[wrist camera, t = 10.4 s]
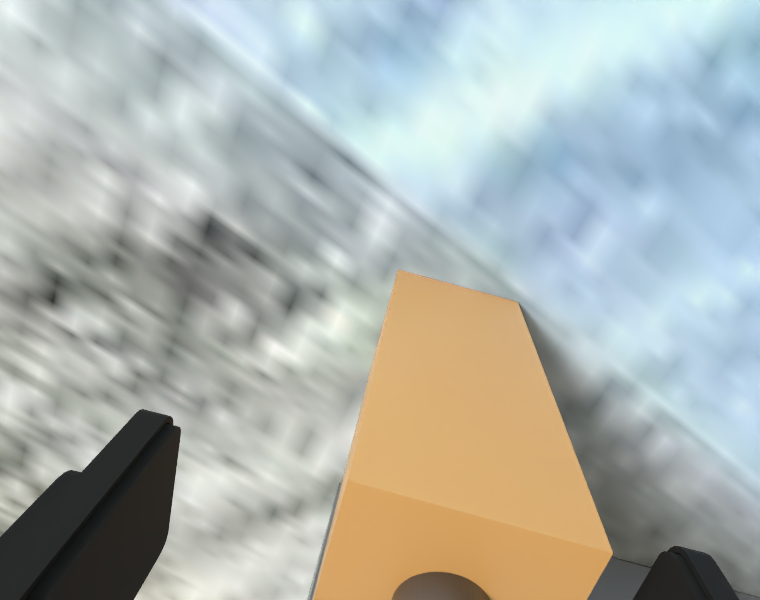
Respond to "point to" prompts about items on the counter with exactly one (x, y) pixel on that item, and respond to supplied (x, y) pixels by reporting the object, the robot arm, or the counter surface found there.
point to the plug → (460, 464)
